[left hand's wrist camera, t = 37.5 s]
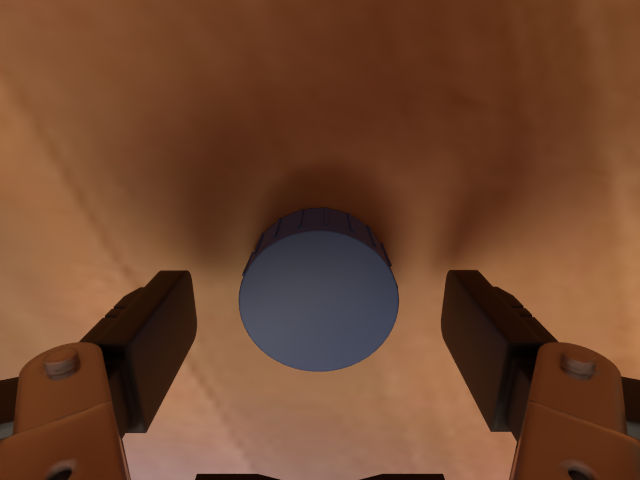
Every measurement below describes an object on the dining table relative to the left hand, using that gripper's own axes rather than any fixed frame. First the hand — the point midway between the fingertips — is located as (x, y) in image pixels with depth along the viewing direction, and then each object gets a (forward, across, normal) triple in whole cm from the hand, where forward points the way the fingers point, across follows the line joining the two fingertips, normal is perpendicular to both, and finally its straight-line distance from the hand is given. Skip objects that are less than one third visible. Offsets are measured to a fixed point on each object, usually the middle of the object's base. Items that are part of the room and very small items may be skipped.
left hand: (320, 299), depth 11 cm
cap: (0, 0, 0) cm, 0 cm away
